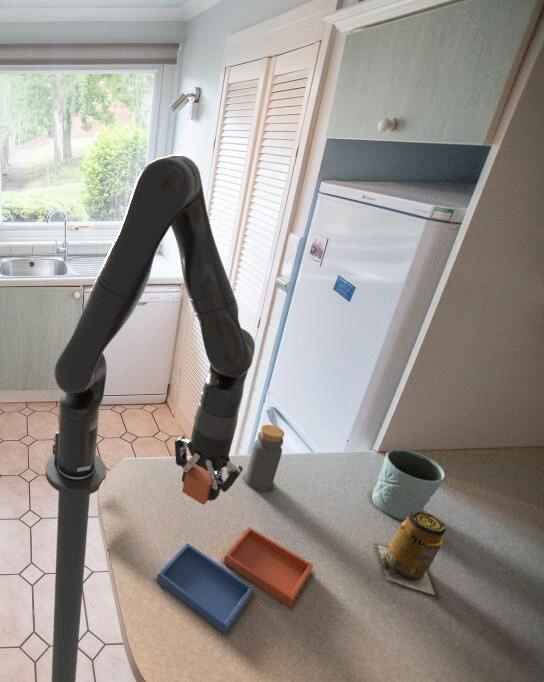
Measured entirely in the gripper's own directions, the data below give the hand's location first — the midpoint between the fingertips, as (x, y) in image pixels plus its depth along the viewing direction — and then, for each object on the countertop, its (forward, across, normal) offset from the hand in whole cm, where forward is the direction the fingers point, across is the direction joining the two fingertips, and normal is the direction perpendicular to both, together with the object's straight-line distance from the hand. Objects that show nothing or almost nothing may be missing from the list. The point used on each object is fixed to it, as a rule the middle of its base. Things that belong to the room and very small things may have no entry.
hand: (198, 490), depth 96 cm
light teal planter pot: (+6, -30, -35) cm, 46 cm away
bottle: (+6, -6, -20) cm, 22 cm away
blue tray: (+6, -10, +15) cm, 19 cm away
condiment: (+6, -34, -17) cm, 39 cm away
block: (0, 0, 0) cm, 0 cm away
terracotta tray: (+6, -16, +2) cm, 18 cm away
